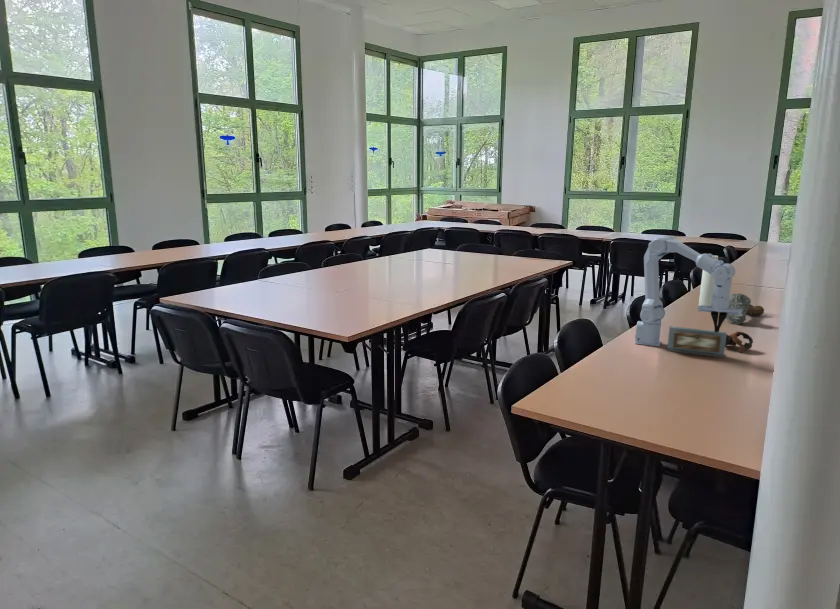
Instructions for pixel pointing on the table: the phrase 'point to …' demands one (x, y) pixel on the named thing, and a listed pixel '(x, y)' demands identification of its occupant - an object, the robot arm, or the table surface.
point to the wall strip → (696, 331)
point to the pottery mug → (739, 341)
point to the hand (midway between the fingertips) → (716, 331)
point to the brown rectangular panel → (696, 341)
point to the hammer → (742, 308)
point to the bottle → (706, 288)
